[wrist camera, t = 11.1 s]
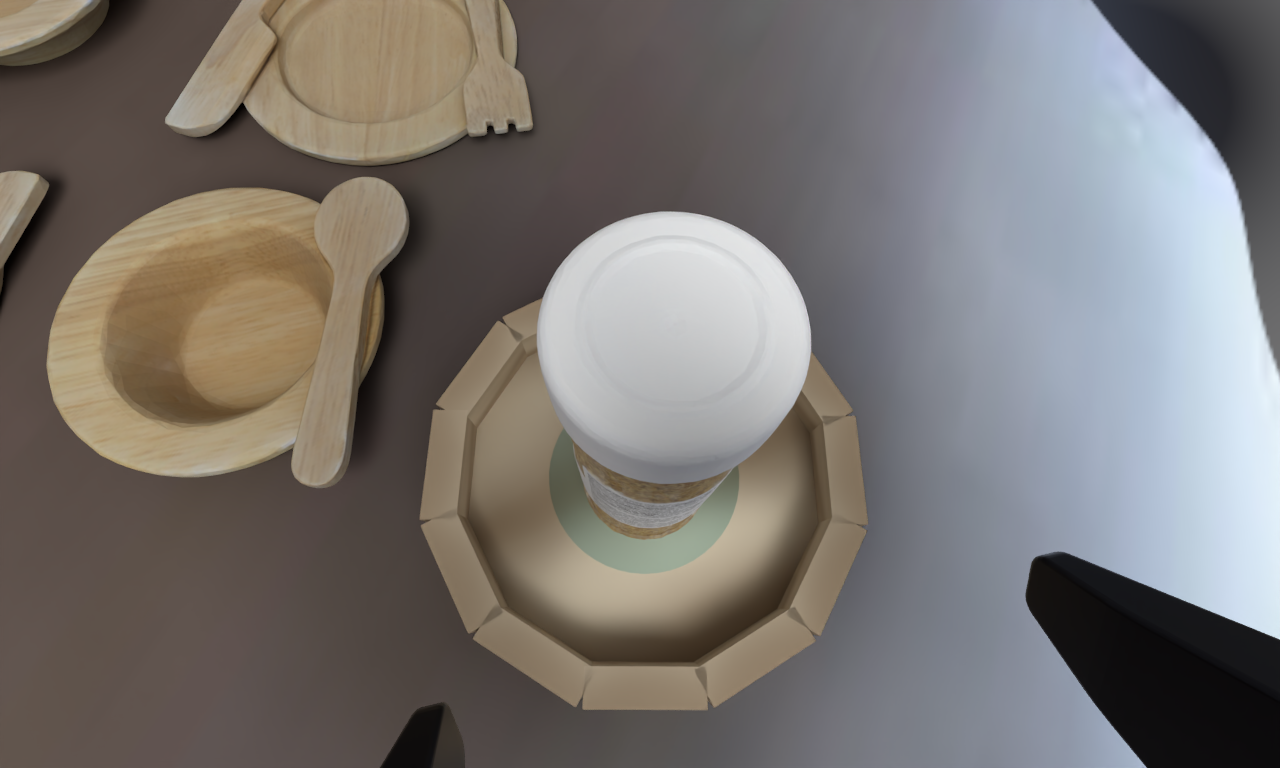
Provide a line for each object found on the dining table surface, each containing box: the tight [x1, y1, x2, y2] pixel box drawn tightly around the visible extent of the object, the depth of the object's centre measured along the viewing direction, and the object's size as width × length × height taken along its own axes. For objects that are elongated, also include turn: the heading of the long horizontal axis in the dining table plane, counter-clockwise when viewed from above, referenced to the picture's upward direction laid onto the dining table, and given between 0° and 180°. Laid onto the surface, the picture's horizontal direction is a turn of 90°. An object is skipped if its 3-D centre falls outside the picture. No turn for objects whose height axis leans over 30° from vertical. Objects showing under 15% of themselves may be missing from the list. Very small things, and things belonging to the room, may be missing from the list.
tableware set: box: [0, 0, 533, 488], centre depth 25 cm, size 35×29×4 cm
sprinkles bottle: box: [537, 212, 811, 540], centre depth 16 cm, size 5×5×14 cm
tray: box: [420, 298, 868, 710], centre depth 22 cm, size 15×15×2 cm
